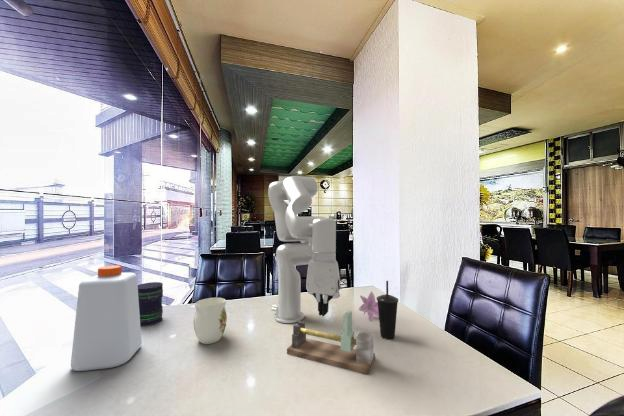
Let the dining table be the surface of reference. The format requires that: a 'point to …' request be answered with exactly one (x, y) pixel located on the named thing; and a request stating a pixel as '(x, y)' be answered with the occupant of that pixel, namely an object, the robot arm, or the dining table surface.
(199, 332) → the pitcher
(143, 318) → the storage jar
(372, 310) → the lily
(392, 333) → the drinking cup
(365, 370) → the wooden rod slider stand
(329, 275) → the robot arm
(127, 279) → the plastic bottle
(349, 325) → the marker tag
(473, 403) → the dining table surface
